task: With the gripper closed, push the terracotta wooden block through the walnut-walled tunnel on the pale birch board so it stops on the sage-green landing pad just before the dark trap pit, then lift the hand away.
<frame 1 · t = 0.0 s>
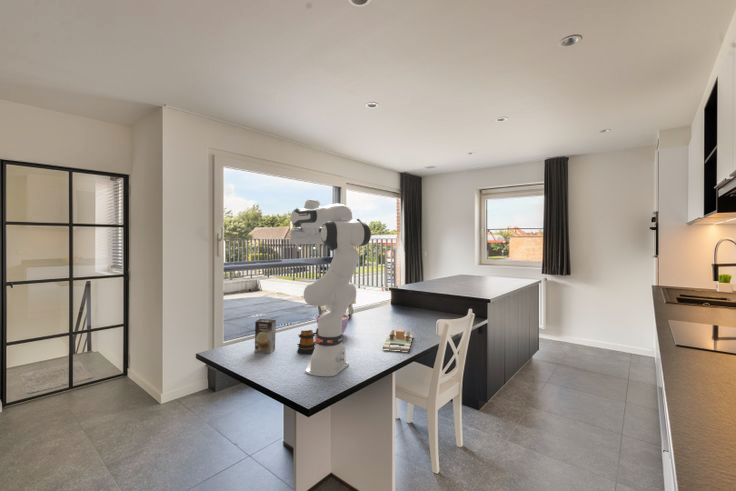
hand: (306, 250, 193), 52 cm above the table, tool tilted 20°, fingers open, 8 cm apart
bowl of food: (332, 335, 207), on the table
coffee box: (265, 351, 177), on the table
tunnel board: (398, 343, 193), on the table
block: (400, 337, 199), point 2 cm above the table, touching tunnel board
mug: (309, 351, 178), on the table
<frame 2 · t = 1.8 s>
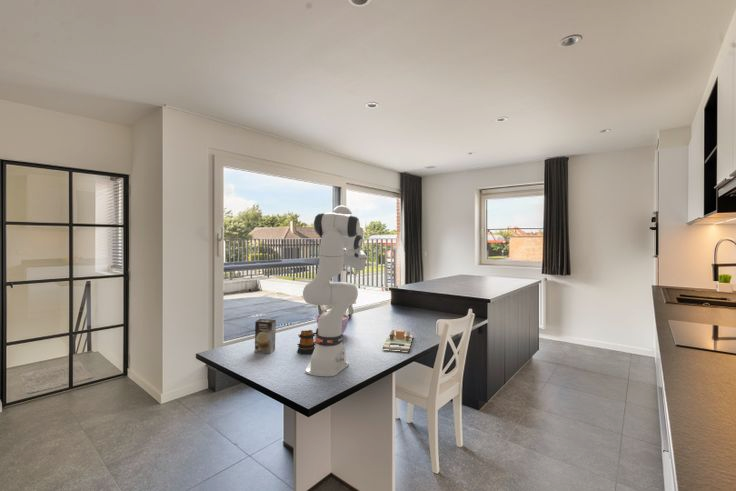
hand: (349, 273, 212), 38 cm above the table, tool pointing down, fingers open, 8 cm apart
nothing on the table moved.
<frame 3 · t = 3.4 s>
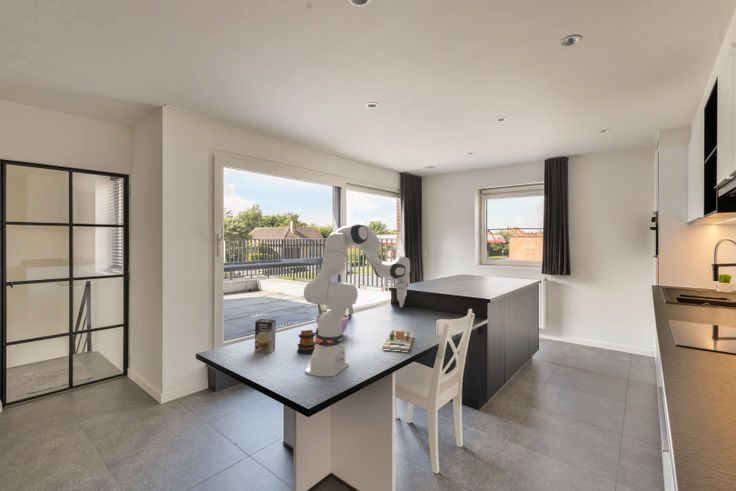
hand: (402, 305, 206), 19 cm above the table, tool pointing down, fingers open, 7 cm apart
nothing on the table moved.
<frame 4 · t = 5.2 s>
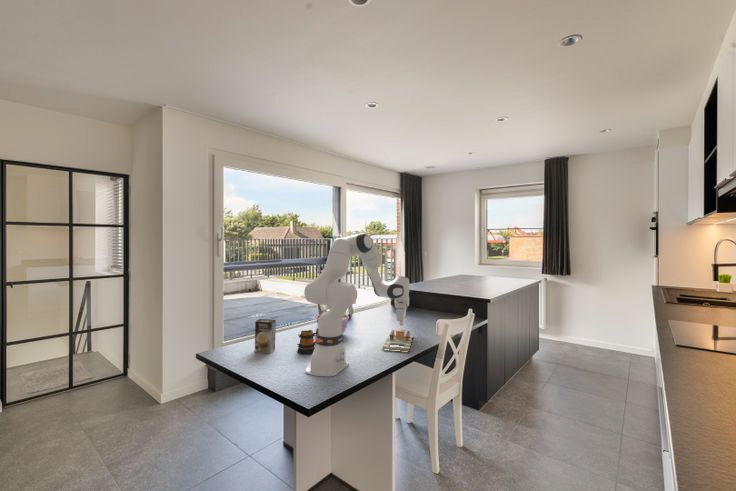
hand: (401, 324, 207), 7 cm above the table, tool pointing down, fingers closed
nothing on the table moved.
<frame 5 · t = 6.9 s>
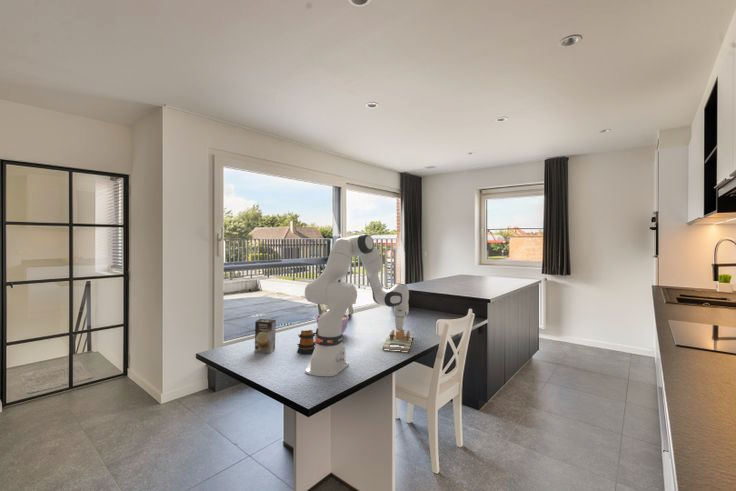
hand: (400, 333, 202), 3 cm above the table, tool pointing down, fingers closed
block: (400, 337, 198), point 2 cm above the table, touching gripper
everything else where it was.
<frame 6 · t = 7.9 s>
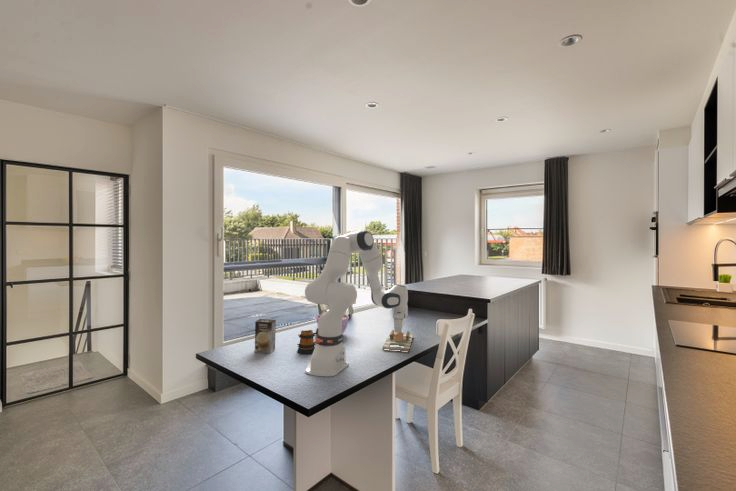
hand: (399, 336, 197), 3 cm above the table, tool pointing down, fingers closed
block: (398, 340, 193), point 2 cm above the table, touching gripper, tunnel board
everything else where it was.
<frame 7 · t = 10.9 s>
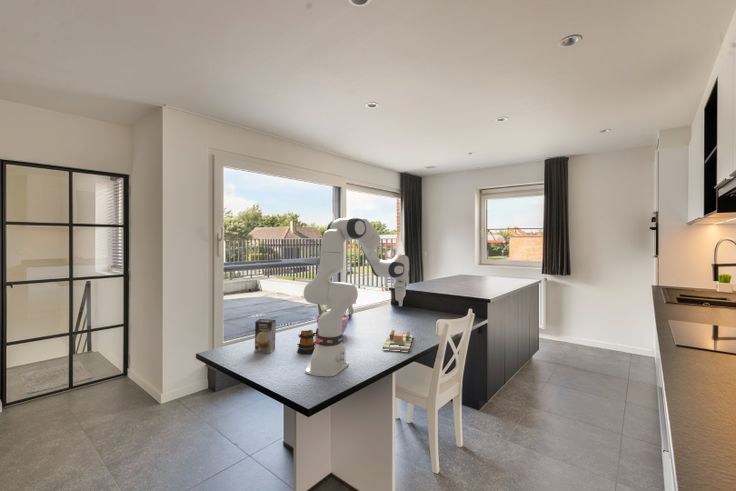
hand: (400, 305, 197), 21 cm above the table, tool pointing down, fingers closed
block: (398, 341, 190), point 2 cm above the table, touching tunnel board
everything else where it was.
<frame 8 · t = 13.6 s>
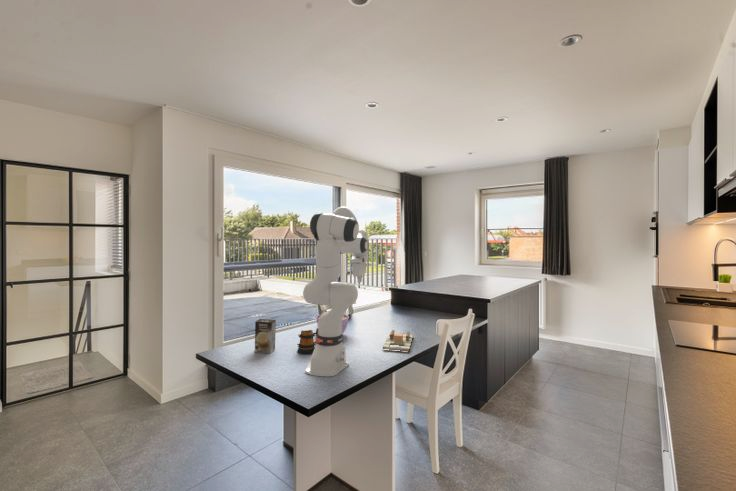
hand: (359, 282, 196), 34 cm above the table, tool pointing down, fingers closed
nothing on the table moved.
at the end: block 0.3 cm from the target spot on the tunnel board, point 2.0 cm above the tunnel board's base; block touching tunnel board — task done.
